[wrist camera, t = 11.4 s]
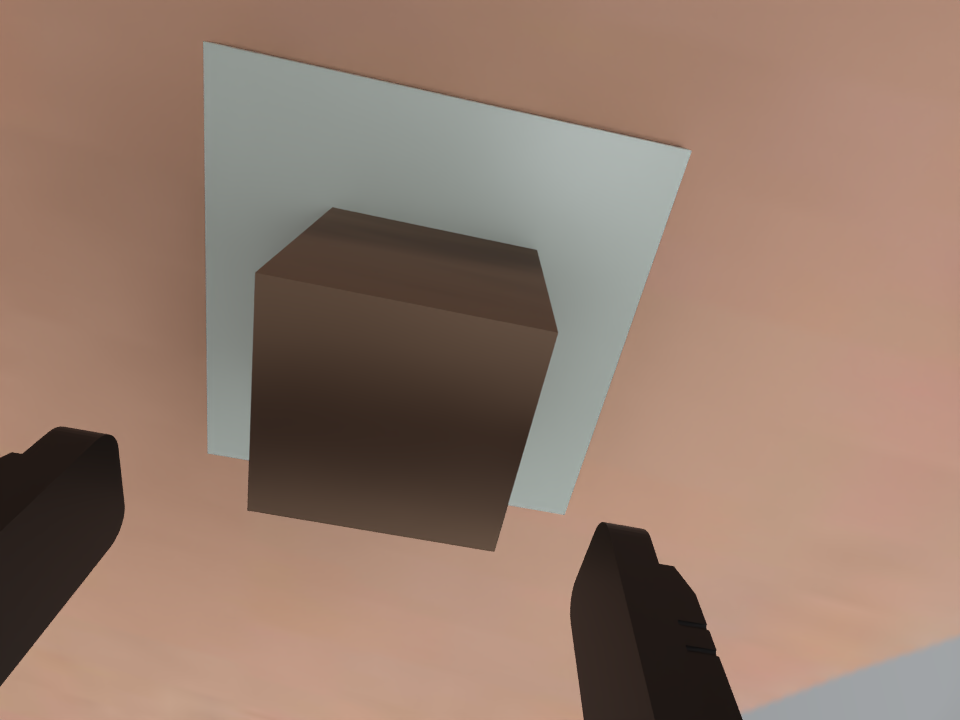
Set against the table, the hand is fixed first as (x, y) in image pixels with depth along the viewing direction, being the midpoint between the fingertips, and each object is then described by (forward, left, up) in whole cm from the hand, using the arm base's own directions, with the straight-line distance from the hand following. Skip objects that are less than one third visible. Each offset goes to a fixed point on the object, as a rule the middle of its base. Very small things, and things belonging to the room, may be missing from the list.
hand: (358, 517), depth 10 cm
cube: (0, 0, -9) cm, 9 cm away
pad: (0, 0, -10) cm, 10 cm away
